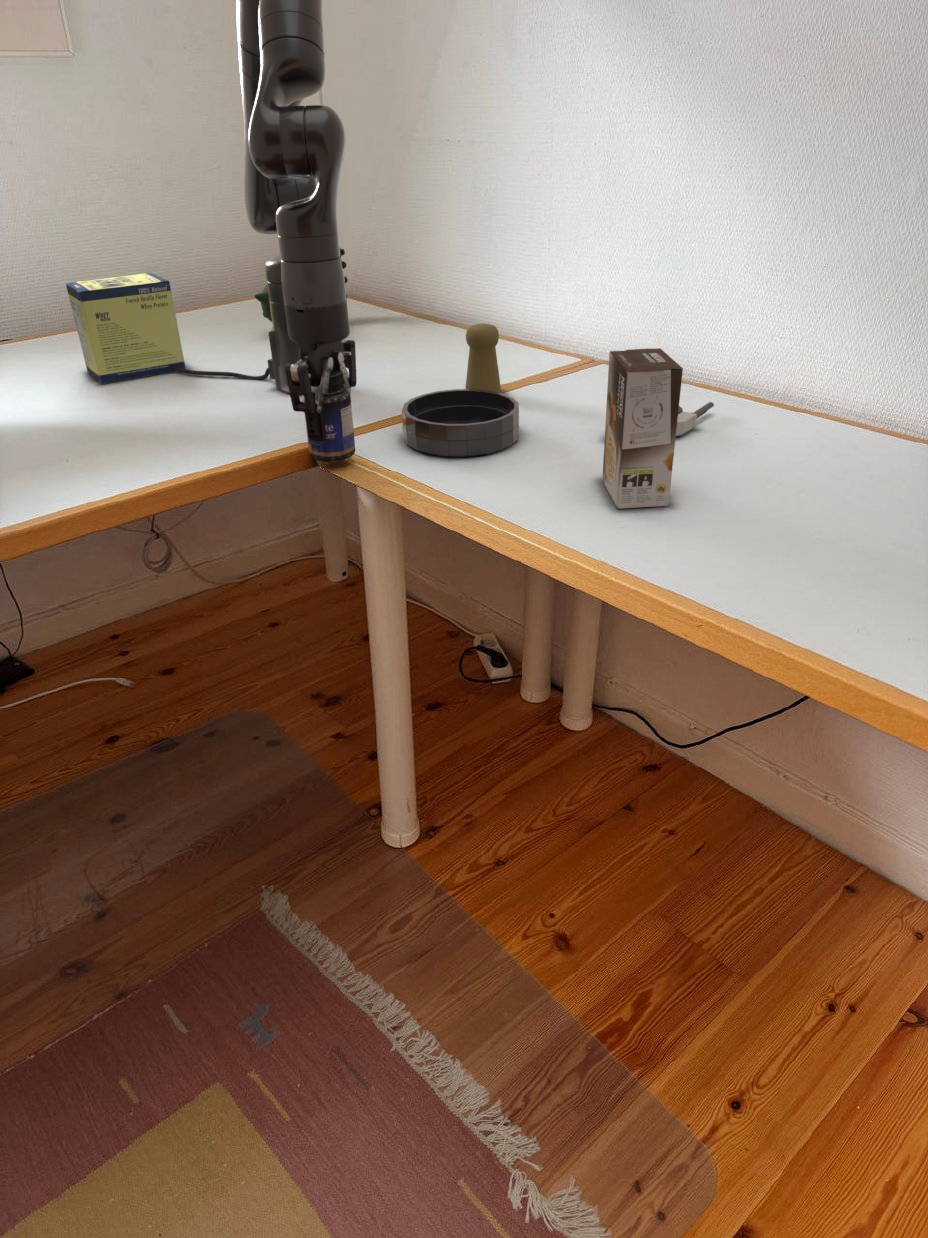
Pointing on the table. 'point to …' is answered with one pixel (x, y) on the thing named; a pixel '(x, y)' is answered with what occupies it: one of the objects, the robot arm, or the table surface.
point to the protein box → (126, 326)
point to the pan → (460, 422)
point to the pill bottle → (335, 423)
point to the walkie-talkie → (690, 418)
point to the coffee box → (640, 426)
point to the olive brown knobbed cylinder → (482, 358)
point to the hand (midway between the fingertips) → (330, 431)
